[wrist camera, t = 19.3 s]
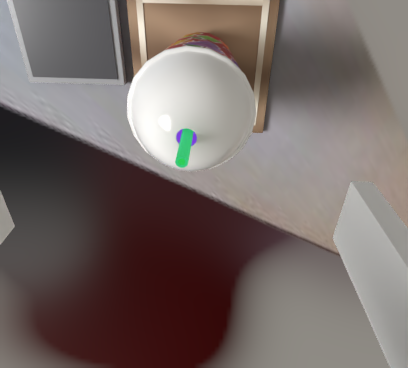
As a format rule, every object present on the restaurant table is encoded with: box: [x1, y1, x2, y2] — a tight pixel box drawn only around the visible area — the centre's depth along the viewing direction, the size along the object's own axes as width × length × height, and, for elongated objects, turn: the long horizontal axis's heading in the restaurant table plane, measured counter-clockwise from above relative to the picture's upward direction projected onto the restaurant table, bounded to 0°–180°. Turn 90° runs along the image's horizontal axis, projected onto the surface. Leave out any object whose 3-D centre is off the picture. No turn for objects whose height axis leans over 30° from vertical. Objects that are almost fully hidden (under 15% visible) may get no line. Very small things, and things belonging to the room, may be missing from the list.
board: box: [127, 0, 280, 133], centre depth 32 cm, size 14×14×1 cm
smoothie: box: [127, 32, 256, 172], centre depth 24 cm, size 8×8×20 cm
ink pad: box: [7, 0, 127, 85], centre depth 31 cm, size 10×10×1 cm
